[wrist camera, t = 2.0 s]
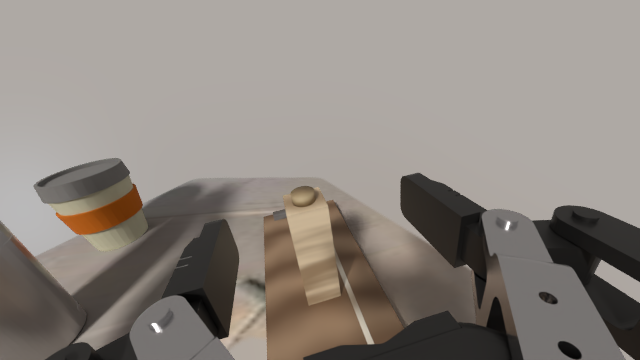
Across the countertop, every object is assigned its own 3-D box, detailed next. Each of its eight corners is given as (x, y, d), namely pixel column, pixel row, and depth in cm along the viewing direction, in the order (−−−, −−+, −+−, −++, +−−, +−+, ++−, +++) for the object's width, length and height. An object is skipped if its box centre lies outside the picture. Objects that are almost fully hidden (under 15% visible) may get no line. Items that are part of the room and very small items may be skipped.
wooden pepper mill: (340, 295, 28) (326, 197, 22) (308, 305, 28) (284, 207, 21) (331, 270, 32) (317, 179, 25) (303, 278, 31) (280, 187, 25)
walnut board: (423, 373, 22) (425, 359, 20) (273, 430, 20) (265, 417, 18) (333, 206, 48) (332, 195, 47) (265, 222, 46) (262, 212, 45)
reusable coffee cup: (117, 261, 42) (65, 188, 35) (68, 256, 45) (11, 189, 38) (170, 218, 53) (138, 156, 46) (128, 216, 56) (92, 159, 49)
